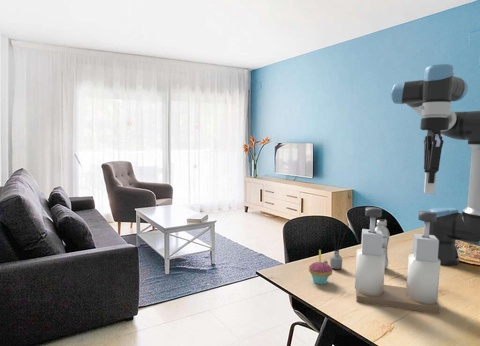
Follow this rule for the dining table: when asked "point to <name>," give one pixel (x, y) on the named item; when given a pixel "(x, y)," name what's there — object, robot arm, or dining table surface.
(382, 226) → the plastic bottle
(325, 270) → the cupcake
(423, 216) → the plunger
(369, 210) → the plunger
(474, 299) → the dining table surface
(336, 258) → the reed diffuser
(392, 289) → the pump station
